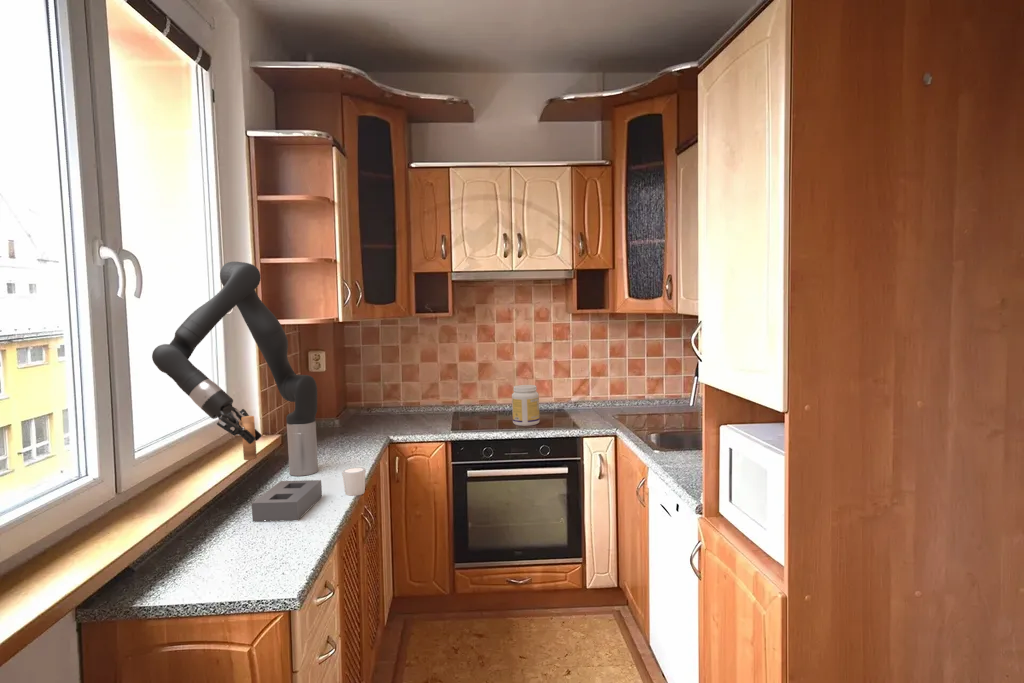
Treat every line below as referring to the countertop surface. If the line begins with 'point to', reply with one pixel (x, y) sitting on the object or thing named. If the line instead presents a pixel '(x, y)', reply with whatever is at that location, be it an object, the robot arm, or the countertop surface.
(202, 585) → the countertop surface
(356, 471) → the shot glass
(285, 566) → the countertop surface
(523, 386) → the supplement tub
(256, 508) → the hole block
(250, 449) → the peg
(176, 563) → the countertop surface
